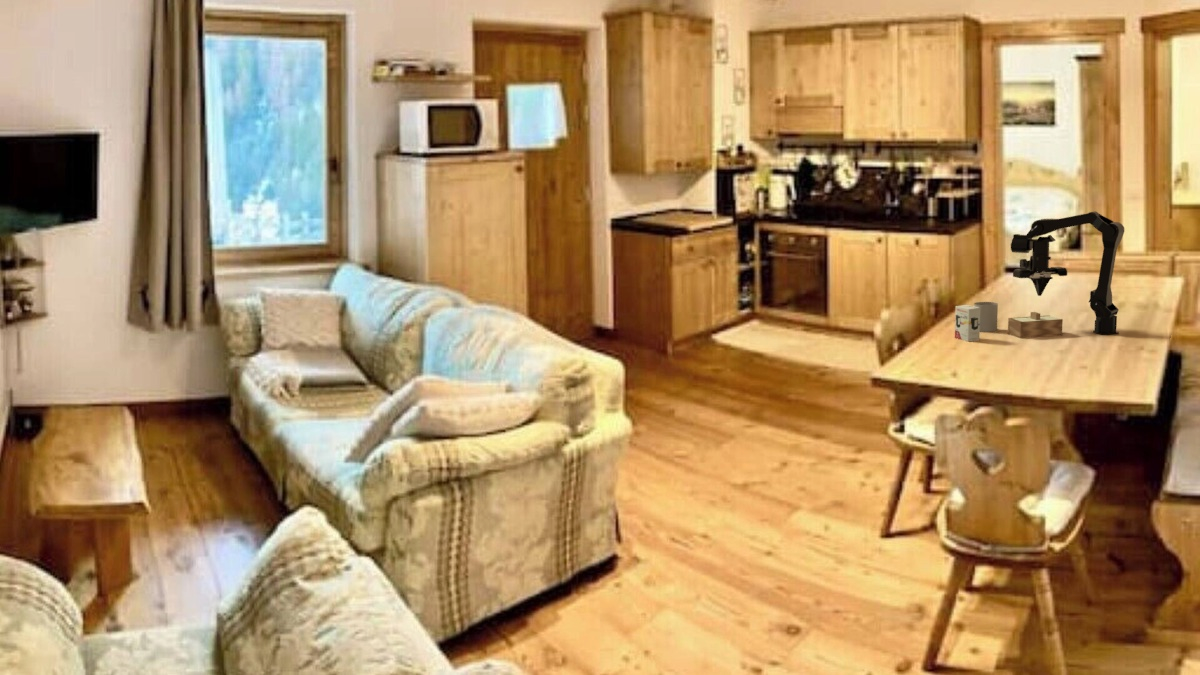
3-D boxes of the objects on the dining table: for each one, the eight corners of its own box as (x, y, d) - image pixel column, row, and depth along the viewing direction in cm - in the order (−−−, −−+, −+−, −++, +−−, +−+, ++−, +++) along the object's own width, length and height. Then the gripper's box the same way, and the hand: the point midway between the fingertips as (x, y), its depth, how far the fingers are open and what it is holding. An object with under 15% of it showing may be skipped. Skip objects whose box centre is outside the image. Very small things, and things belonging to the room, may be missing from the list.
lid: (1050, 317, 438) (1050, 309, 438) (1061, 320, 431) (1061, 313, 430) (1011, 320, 436) (1011, 312, 436) (1022, 323, 429) (1022, 315, 428)
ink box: (954, 337, 434) (954, 305, 432) (965, 336, 435) (966, 304, 433) (968, 341, 426) (968, 308, 424) (980, 340, 427) (980, 307, 425)
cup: (999, 329, 447) (1000, 302, 446) (994, 332, 441) (994, 305, 439) (976, 327, 452) (977, 301, 450) (970, 331, 445) (971, 304, 443)
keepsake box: (1048, 331, 440) (1049, 315, 439) (1062, 335, 431) (1062, 319, 430) (1007, 333, 438) (1008, 318, 437) (1020, 338, 429) (1020, 321, 428)
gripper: (1052, 250, 452) (1051, 291, 454) (1006, 252, 449) (1005, 294, 452) (1068, 253, 441) (1067, 295, 444) (1021, 255, 438) (1019, 298, 441)
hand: (1039, 295), depth 445 cm, fingers closed
